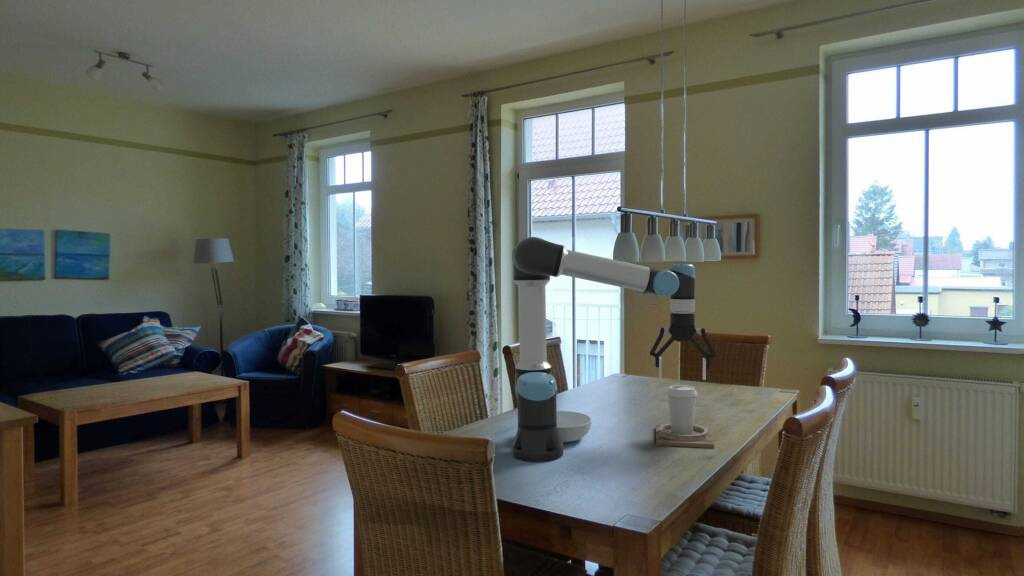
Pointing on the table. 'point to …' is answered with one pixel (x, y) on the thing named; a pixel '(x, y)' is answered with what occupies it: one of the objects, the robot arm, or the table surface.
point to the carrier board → (684, 437)
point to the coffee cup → (682, 408)
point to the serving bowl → (572, 425)
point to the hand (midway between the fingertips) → (682, 378)
